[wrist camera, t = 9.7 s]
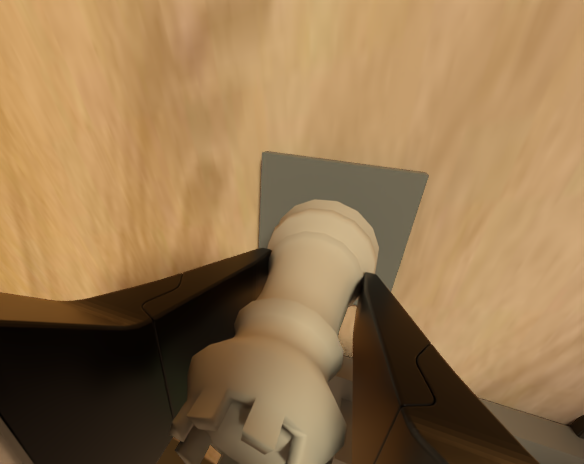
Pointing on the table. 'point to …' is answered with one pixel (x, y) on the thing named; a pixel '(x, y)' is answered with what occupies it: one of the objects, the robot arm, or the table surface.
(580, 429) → the phone
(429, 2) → the table surface
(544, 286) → the table surface
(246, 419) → the rook chess piece
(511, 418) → the grey stand
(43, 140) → the table surface
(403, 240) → the rubber pad
